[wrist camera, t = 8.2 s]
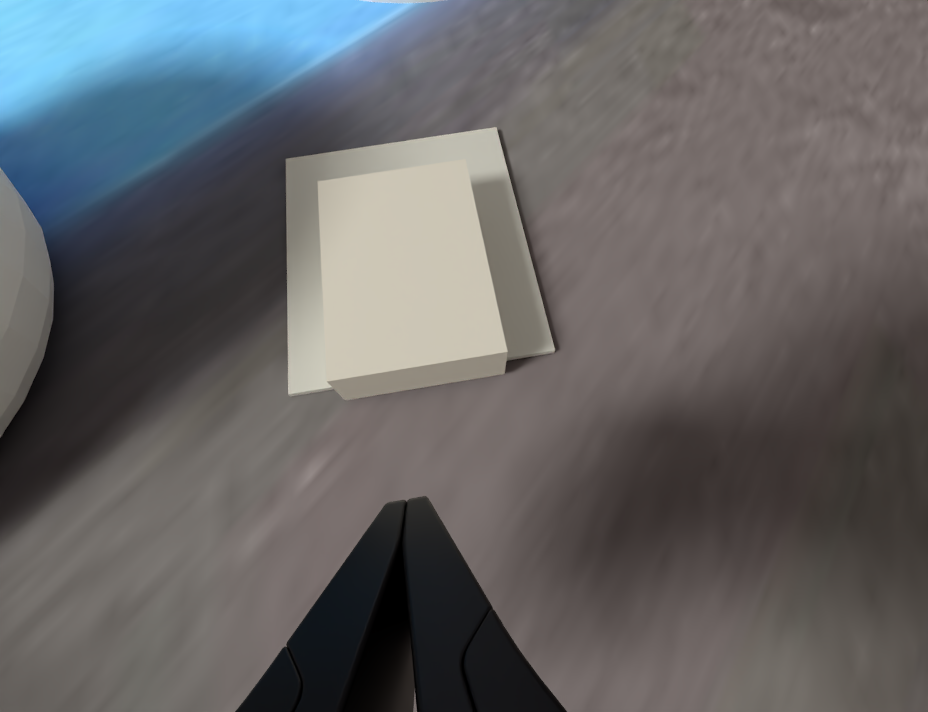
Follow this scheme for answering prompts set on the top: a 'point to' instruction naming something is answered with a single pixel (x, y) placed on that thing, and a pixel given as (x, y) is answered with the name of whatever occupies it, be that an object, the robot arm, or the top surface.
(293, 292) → the mat
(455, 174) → the beige rectangular block
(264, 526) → the top surface
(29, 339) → the pot
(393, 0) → the plate stack
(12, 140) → the top surface
